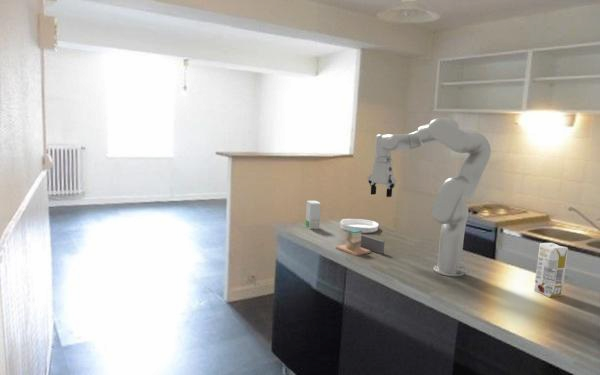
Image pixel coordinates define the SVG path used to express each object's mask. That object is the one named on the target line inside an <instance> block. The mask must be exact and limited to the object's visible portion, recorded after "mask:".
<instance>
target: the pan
mask: <svg viewBox="0 0 600 375" xmlns="http://www.w3.org/2000/svg"><path fill="white" fill-rule="evenodd" d="M339 224H340V229H342V230H343V231H345V232H347V230H350V229H356V230H360V231H362V232H361V234H371V233H375V232H378V230H379V229H378V228H379V226H380V225H379V223H378V222H377V221H374V220H369V219H362V218H343V219H342V218H341V220H340V221H339Z"/></svg>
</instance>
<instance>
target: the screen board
mask: <svg viewBox="0 0 600 375" xmlns="http://www.w3.org/2000/svg"><path fill="white" fill-rule="evenodd" d="M361 247H362V248H365V249H367V250H370V252H371V251H372V252H374V253H377V254H380V255H382V254H384V253H385V240H383V239H379V238H375V237H372V236H369V235H366V234H364V233H361Z"/></svg>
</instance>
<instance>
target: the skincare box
mask: <svg viewBox="0 0 600 375" xmlns="http://www.w3.org/2000/svg"><path fill="white" fill-rule="evenodd" d="M305 209H306V210H305V222H304V226H305V228H307V229H308V230H319V229H320V223H321V211H322V210H321V209H322V203H321V202H319V201H317V200H306V208H305Z"/></svg>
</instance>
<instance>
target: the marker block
mask: <svg viewBox="0 0 600 375" xmlns="http://www.w3.org/2000/svg"><path fill="white" fill-rule="evenodd" d="M361 232H362V231H360V230H356V229H350V230H347V231H346V238H345V239H346V242H345V244H346V248H348V249H350V250H358V249H360V247H361V234H362V233H361Z"/></svg>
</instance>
